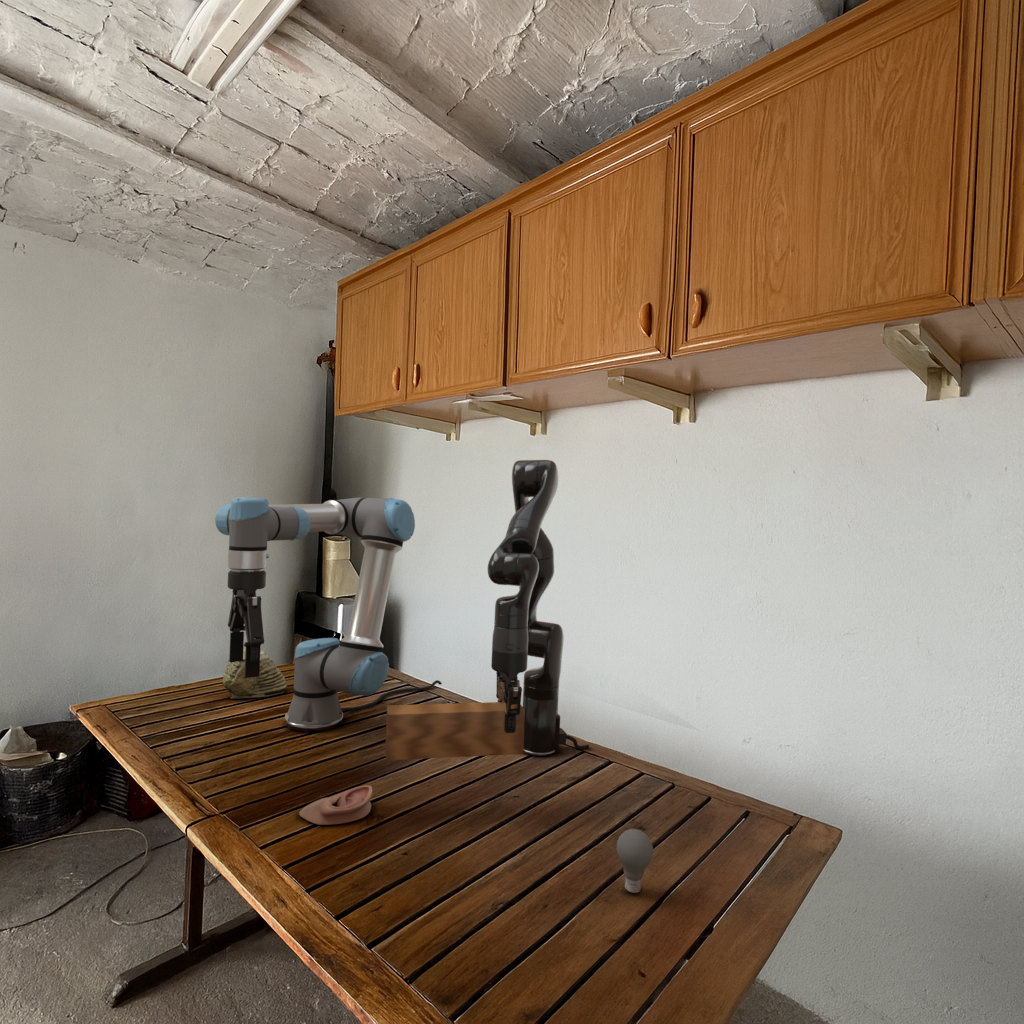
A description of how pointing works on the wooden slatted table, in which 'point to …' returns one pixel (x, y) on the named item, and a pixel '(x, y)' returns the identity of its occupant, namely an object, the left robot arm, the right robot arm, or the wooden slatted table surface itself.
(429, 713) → the bar
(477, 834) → the wooden slatted table surface
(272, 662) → the fossil
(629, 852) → the light bulb
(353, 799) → the anatomical model
